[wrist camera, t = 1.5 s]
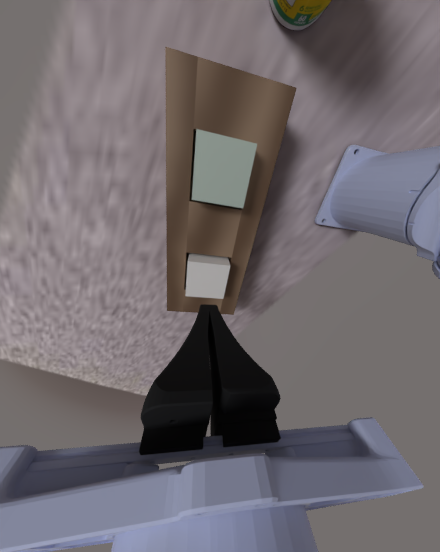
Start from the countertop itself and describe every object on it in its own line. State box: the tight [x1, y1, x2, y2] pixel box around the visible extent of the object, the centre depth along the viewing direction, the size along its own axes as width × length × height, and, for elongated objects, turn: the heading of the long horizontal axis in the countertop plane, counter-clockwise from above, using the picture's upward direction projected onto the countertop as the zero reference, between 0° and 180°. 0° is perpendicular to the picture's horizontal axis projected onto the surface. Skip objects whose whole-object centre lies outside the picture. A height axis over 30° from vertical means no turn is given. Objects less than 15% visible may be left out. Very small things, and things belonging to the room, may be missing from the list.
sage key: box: [192, 129, 257, 208], centre depth 13 cm, size 4×4×3 cm
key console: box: [166, 47, 296, 315], centre depth 18 cm, size 9×22×4 cm, turn 171°
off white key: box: [185, 253, 230, 299], centre depth 18 cm, size 4×4×3 cm
